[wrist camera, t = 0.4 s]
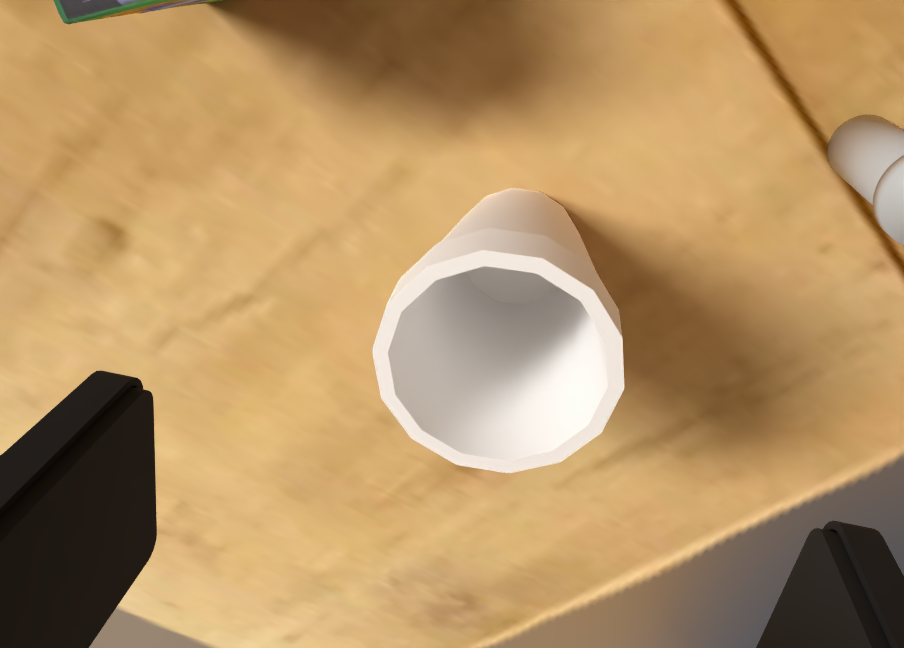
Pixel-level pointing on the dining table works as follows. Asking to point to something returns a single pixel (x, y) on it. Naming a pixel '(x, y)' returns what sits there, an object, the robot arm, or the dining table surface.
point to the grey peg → (873, 167)
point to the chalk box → (114, 8)
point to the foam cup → (502, 339)
